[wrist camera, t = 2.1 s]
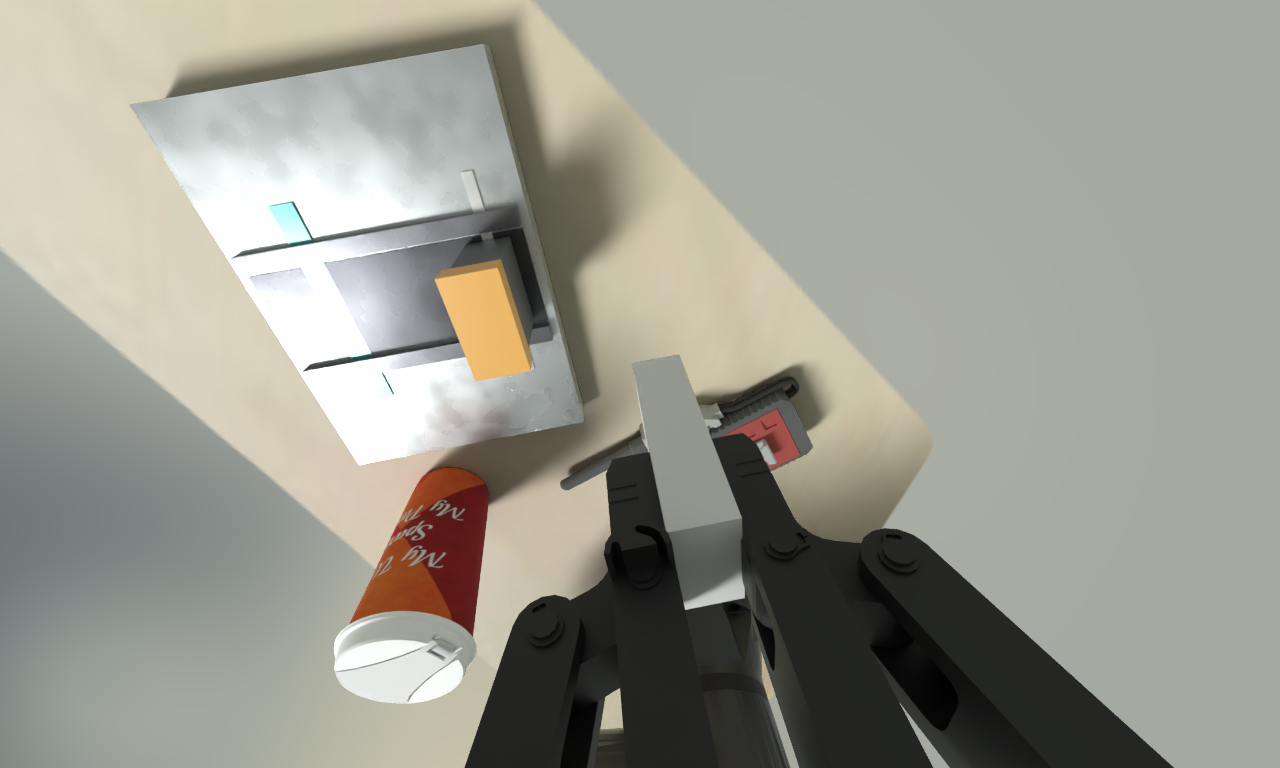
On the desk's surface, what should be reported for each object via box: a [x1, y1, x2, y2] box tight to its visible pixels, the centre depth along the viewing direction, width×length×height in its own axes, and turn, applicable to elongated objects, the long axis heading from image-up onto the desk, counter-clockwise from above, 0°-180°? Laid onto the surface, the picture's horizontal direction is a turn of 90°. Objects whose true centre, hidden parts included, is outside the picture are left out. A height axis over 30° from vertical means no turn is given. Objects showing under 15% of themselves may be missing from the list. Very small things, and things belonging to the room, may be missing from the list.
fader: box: [435, 236, 534, 381], centre depth 25 cm, size 5×3×6 cm, turn 8°
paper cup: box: [334, 467, 489, 703], centre depth 32 cm, size 8×8×14 cm
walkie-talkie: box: [560, 377, 813, 490], centre depth 37 cm, size 9×4×20 cm
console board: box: [130, 44, 584, 465], centre depth 28 cm, size 22×16×3 cm
